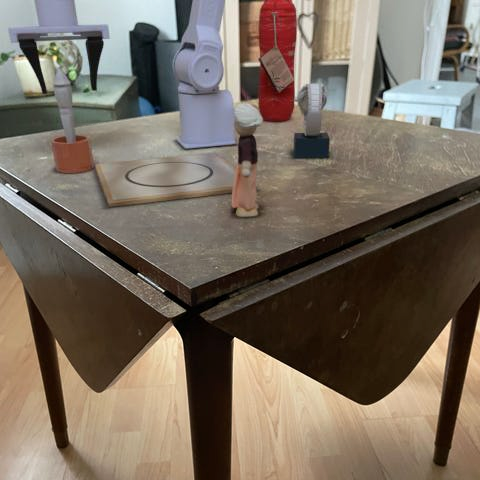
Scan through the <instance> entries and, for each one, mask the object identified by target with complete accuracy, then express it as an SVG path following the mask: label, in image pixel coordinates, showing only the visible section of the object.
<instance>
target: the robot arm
mask: <svg viewBox="0 0 480 480" xmlns="http://www.w3.org/2000/svg"><path fill="white" fill-rule="evenodd" d="M33 1H34V6H35V12H36V16H37V22H38V26H20V27H19V26H16V27H8V28H7V30H8V35H9V40H10V43H11V44H12V43H18V46H19V49H20V50H21V52H22V53H23V55H24V57H25V59H26V60H27V61H28V63H29V65H30V67H31V69H32V70H33V73H34V74H35V77H36V78H37V81H38V84H39V86H40V89H41V93H42V95H48V91H47V85H46V82H45V78H44V74H43V69H42V65H41V59H40V54H39V50H38V49H39V48H38V44H37V42H53V41H77V40H78V41H80V40H82V41H83V40H85V43H84V44H85V50H86V55H87V62H88V68H89V69H88V70H89V81H90V88H91V90H92V91H95V92H97V91H98V71H99V65H100V61H101V57H102V53H103V49H104V44H105V42H104V40H110V39H111V37H110V30H109V25H108V24H106V23H105V24H104V23H103V24H79V22H78V15H77V8H76V2H75V0H33ZM191 2H192V3H191V8H190V13H189V14H190V15H189V20H188V25H187V27H186V30H185V31H184V33H183V35H182V37H181V43H180V46H179V48H178V50H177V52H176V53H175V55H174V57H173V59H172V71H173V75H174V77H175V78H176V80H177V81H178V82H179V85H178V87H177V94H178V95H177V96H178V97H177V98H178V107H179V108H178V109H179V124H180V136H176V137H175V140H176V141H177V143H179V145H180V146H181V147H183V148H184V149H187V150H189V149H199V148H208V147H210V148H211V147H219V146H221V147H222V146H230V145H236V144H237V141H236V139H235V138H236V137H235V127H234V123H235V118H234V110H235V105H234V97H233V95H232V93H231V91H230V90H229V89H220V85H221V82H222V81H223V78H224V74H225V68H224V62H223V50H224V44H223V40H222V37H221V33H220V32H221V26H222V21H223V15H224V9H225V3H226V0H192V1H191ZM49 34H72V35H67V36H66V35H65V36H64V35H61V36H48V35H49Z"/></svg>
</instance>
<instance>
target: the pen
mask: <svg viewBox="0 0 480 480" xmlns="http://www.w3.org/2000/svg"><path fill="white" fill-rule="evenodd" d="M71 83H72V82H71V81H70V80H69V78H68V76H67V75H66V74H65V72H64V70H62V68H61V67H60V66H59V67H58V68H57V70H56V73H55V76H54V79H53V82H52V85H53V93H54V97H55V101H56V104H57V106H58V110H59V116H60V120H61V124H62V128H63V131H64V136H66V140H67V143H71V142H76V135H77V134H76V125H75V114H74V110H73V89H72V85H71Z"/></svg>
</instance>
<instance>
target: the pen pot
mask: <svg viewBox="0 0 480 480" xmlns="http://www.w3.org/2000/svg"><path fill="white" fill-rule="evenodd" d="M50 143H51V150H52V154H53V159H54V164H55V170H56V171H57V172H58V173H63V174H78V173H84V172H89V171H90V170H92V169H94V168H95V163H94V156H93V150H92V144H91V138H90V136H88V135H84V134H76V142H71V143H67V140H66V136H65V135H61V136H57V137H53V138H52V139H50Z"/></svg>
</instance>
